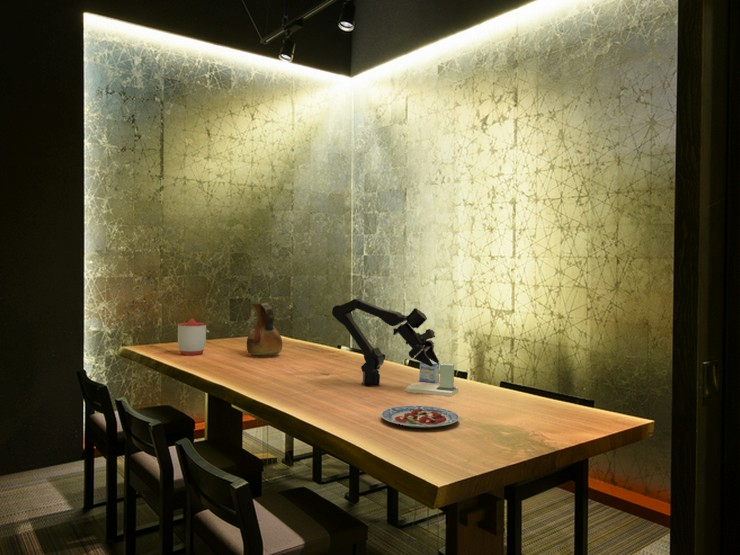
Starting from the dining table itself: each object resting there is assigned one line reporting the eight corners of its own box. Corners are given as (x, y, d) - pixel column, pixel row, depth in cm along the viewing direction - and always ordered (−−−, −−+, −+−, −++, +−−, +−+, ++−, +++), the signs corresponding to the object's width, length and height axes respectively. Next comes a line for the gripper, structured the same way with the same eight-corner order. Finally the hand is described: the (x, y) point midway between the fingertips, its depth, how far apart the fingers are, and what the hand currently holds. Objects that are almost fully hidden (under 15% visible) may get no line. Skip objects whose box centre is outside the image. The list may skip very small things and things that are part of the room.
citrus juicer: (212, 355, 321) (213, 319, 320) (180, 357, 312) (180, 320, 312) (205, 351, 334) (205, 316, 334) (174, 352, 326) (174, 317, 325)
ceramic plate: (410, 408, 209) (410, 399, 209) (473, 421, 193) (473, 412, 193) (364, 422, 189) (365, 412, 189) (430, 437, 173) (430, 428, 173)
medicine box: (418, 381, 258) (419, 362, 258) (422, 379, 262) (423, 360, 262) (435, 383, 254) (435, 363, 254) (439, 381, 258) (439, 362, 258)
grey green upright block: (439, 389, 235) (439, 364, 234) (441, 387, 238) (442, 363, 238) (451, 390, 233) (452, 365, 233) (453, 388, 236) (454, 364, 236)
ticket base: (405, 391, 236) (405, 386, 236) (414, 386, 247) (414, 381, 247) (451, 396, 228) (451, 391, 228) (458, 390, 240) (458, 385, 240)
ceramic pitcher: (270, 352, 336) (271, 300, 335) (289, 356, 320) (290, 302, 320) (240, 354, 323) (240, 301, 323) (257, 359, 308) (258, 303, 307)
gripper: (416, 324, 230) (443, 354, 226) (429, 321, 247) (454, 348, 243) (397, 343, 233) (423, 372, 229) (411, 338, 250) (436, 365, 246)
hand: (435, 364), depth 237 cm, fingers open, 9 cm apart
